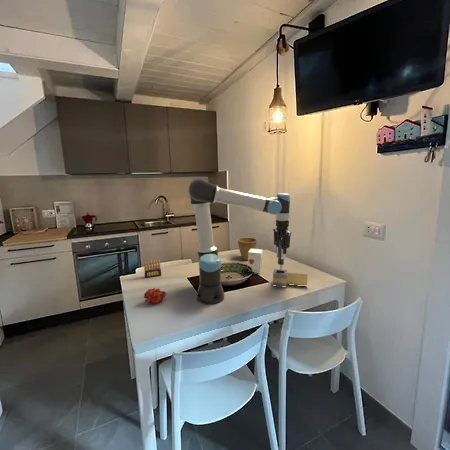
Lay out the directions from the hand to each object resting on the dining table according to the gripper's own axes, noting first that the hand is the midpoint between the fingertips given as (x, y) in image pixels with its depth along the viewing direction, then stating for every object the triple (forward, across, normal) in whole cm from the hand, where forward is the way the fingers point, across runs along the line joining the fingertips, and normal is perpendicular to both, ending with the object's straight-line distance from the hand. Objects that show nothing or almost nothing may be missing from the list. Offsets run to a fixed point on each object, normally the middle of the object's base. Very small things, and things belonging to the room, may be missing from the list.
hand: (281, 257), depth 162 cm
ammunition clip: (+17, +52, +64) cm, 84 cm away
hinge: (+17, 0, -8) cm, 19 cm away
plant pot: (+17, +50, -10) cm, 53 cm away
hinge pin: (+4, 0, 0) cm, 4 cm away
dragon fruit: (+17, +16, +73) cm, 77 cm away
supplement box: (+17, +26, 0) cm, 31 cm away
